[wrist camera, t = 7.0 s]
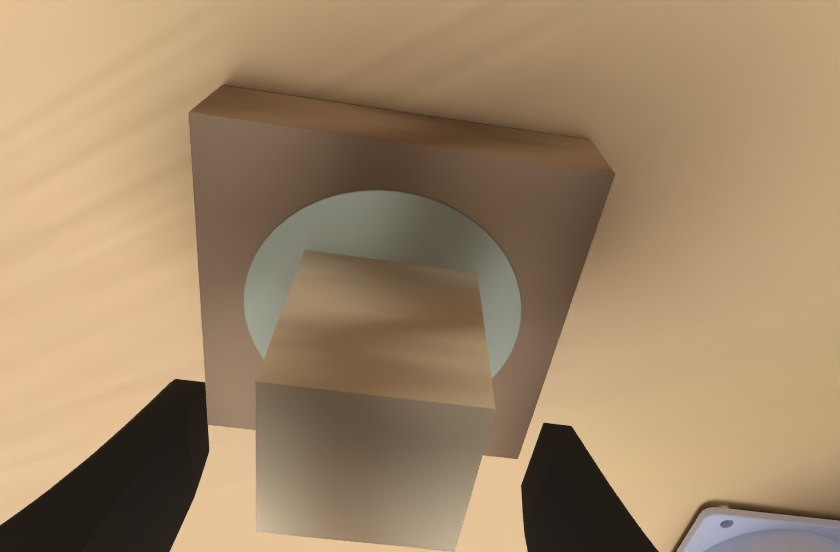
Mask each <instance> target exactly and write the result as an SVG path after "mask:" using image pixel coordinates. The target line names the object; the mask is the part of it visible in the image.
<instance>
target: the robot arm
mask: <svg viewBox="0 0 840 552" xmlns="http://www.w3.org/2000/svg"><path fill="white" fill-rule="evenodd" d="M208 453H209V437H208V421H207V404H206V388H205V382H197V381H189V380H180V379H175V380H173V381H172V382H170V383H169V384H168V385H167V386H166V387H165V388H164V389H163V390H162V391H161V392H160V393H159V394H158V395H157V396H156V397H155V398H154V399H153V400H152V401H151V402H150V403H149V404H148V405H146V406H145V407H144V408H143V409H142V410H141V411H140V412H139V413H138V414H137V415H136V416H135V417H134V418H133V419H132V420H130V421H129V422H128V423H127V424H126V425H125V426H124V427H123V428H122V429H121V430H120V431H118V432H117V433H116V434H115V435H114V436H113V437H112V438H110V439H109V440H108V441H107V442H106V443H105V444H104V445H103V446H101V447H100V448H99V449H98V450H97V451H96V452H95V453H93V454H92V455H91V456H90V457H89V458H88V459H86V460H85V461H84V462H83V463H81V464H80V465H79V466H78V467H77V468H75V469H74V470H73V471H72V472H70V473H69V474H68V475H67V476H65V477H64V478H63V479H62V480H60V481H59V482H58V483H57V484H56V485H54V486H53V487H52V488H51V489H49V490H48V491H47V492H45V493H44V494H43V495H41V496H40V497H39V498H37V499H36V500H35V501H33V502H32V503H31V504H29V505H28V506H27V507H25V508H24V509H23V510H21V511H20V512H18V513H17V514H16V515H14V516H13V517H11V518H10V519H9V520H7V521H6V522H4V523H3V524H1V525H0V552H170V549H171V547H172V545H173V543H174V541H175V539H176V536H177V534H178V532H179V530H180V528H181V525H182V523H183V521H184V519H185V517H186V514H187V512H188V510H189V508H190V506H191V503H192V501H193V499H194V496H195V493H196V490H197V487H198V484H199V482H200V479H201V476H202V472H203V469H204V466H205V463H206V460H207V456H208ZM521 491H522V508H523V521H524V533H525V539H526V545H527V550H528V552H658V550H657V549H656V548H655V547H654V545H653V544H652V543H651V541H650V540H649V539H648V538H647V536H646V535H645V534H644V532H643V531H642V530H641V528H640V527H639V526H638V524H637V523H636V521H635V520H634V519H633V517H632V516H631V514H630V513H629V512H628V510H627V509H626V507H625V506H624V505H623V503H622V502H621V500H620V499H619V497H618V496H617V495H616V493H615V492H614V490H613V489H612V487H611V486H610V484H609V483H608V481H607V480H606V478H605V477H604V475H603V474H602V472H601V471H600V469H599V468H598V466H597V465H596V463H595V462H594V460H593V458H592V457H591V455H590V454H589V452H588V451H587V449H586V448H585V446H584V445H583V443H582V441H581V440H580V438H579V437H578V435H577V434H576V432H575V431H574V429H573V428H572V426H567V425H558V424H550V423H543V426H542V429H541V431H540V434H539V437H538V440H537V443H536V445H535V448H534V451H533V454H532V457H531V460H530V462H529V465H528V468H527V471H526V474H525V476H524V479H523V482H522V485H521ZM676 552H840V521H839V520H829V519H820V518H811V517H802V516H792V515H783V514H774V513H765V512H755V511H746V510H737V509H727V508H718V507H710V508H706V509H705V510H703V511H702V512H701V513H700V514H699V516H698V518H697V519H696V521H695V522H694V524H693V526H692V527H691V529H690V530H689V532H688V534H687V535H686V537H685V538H684V540H683V542H682V543H681V545H680V546H679V548H678V550H677V551H676Z"/></svg>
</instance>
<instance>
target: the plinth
mask: <svg viewBox="0 0 840 552" xmlns="http://www.w3.org/2000/svg"><path fill="white" fill-rule="evenodd" d="M189 122H190V139H191V155H192V171H193V187H194V203H195V219H196V235H197V252H198V268H199V284H200V300H201V316H202V332H203V349H204V365H205V381H206V397H207V413H208V425H216V426H225V427H234V428H243V429H252V430H256V386H255V381H256V379H257V376H258V373H259V371H260V368H261V365H262V363H263V360H264V357H265V355H266V352H267V349H268V347H269V344H270V341H271V338H272V336H273V333H274V330H275V328H276V325H277V322H278V320H279V317H280V314H281V312H282V309H283V306H284V304H285V301H286V298H287V296H288V293H289V290H290V287H291V285H292V282H293V279H294V277H295V274H296V271H297V269H298V266H299V263H300V261H301V258H302V255H303V253H304V250H310V251H318V252H326V253H333V254H341V255H349V256H356V257H364V258H372V259H380V260H387V261H395V262H403V263H411V264H418V265H426V266H434V267H441V268H449V269H457V270H465V271H472V272H477V276H478V283H479V290H480V298H481V305H482V312H483V320H484V327H485V334H486V342H487V349H488V356H489V364H490V371H491V378H492V385H493V393H494V400H495V407H496V410H495V413H494V417H493V420H492V424H491V427H490V431H489V434H488V438H487V441H486V444H485V448H484V451H483V455H486V456H495V457H504V458H513V459H518V457H519V454H520V451H521V448H522V445H523V442H524V439H525V436H526V433H527V430H528V427H529V424H530V422H531V419H532V416H533V413H534V410H535V407H536V404H537V401H538V398H539V395H540V392H541V389H542V386H543V383H544V380H545V378H546V375H547V372H548V369H549V366H550V363H551V360H552V357H553V354H554V351H555V348H556V345H557V342H558V339H559V337H560V334H561V331H562V328H563V325H564V322H565V319H566V316H567V313H568V310H569V307H570V304H571V301H572V298H573V295H574V293H575V290H576V287H577V284H578V281H579V278H580V275H581V272H582V269H583V266H584V263H585V260H586V257H587V254H588V251H589V249H590V246H591V243H592V240H593V237H594V234H595V231H596V228H597V225H598V222H599V219H600V216H601V213H602V210H603V208H604V205H605V202H606V199H607V196H608V193H609V190H610V187H611V184H612V181H613V178H614V175H615V174H614V172H613V171H612V170H611V168H610V167H609V165H608V164H607V163H606V161H605V160H604V158H603V157H602V156H601V154H600V153H599V152H598V150H597V149H596V147H595V146H594V145H593V143H592V142H591V141H590V140H587V139H580V138H573V137H567V136H560V135H553V134H546V133H540V132H533V131H526V130H520V129H513V128H506V127H499V126H493V125H486V124H479V123H473V122H466V121H459V120H452V119H446V118H439V117H432V116H426V115H419V114H412V113H406V112H399V111H392V110H385V109H379V108H372V107H365V106H359V105H352V104H345V103H338V102H332V101H325V100H318V99H312V98H305V97H298V96H292V95H285V94H278V93H271V92H265V91H258V90H251V89H245V88H238V87H231V86H224V85H222V86H220V87H219V88H218V89H217V90H215V91H214V92H213V93H212V94H210V95H209V96H208V97H207V98H206V99H204V100H203V101H202V102H201V103H199V104H198V105H197V106H196V107H195V108H193V109H192V110H191V111H190V112H189Z"/></svg>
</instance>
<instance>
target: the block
mask: <svg viewBox="0 0 840 552" xmlns="http://www.w3.org/2000/svg"><path fill="white" fill-rule="evenodd" d="M255 386H256V532H262V533H272V534H282V535H292V536H302V537H313V538H323V539H333V540H343V541H353V542H363V543H374V544H384V545H394V546H404V547H414V548H424V549H435V550H445V551H455V548H456V545H457V541H458V538H459V535H460V531H461V528H462V524H463V521H464V517H465V514H466V510H467V507H468V503H469V500H470V496H471V493H472V490H473V486H474V483H475V479H476V476H477V472H478V469H479V465H480V462H481V458H482V455H483V451H484V448H485V444H486V441H487V438H488V434H489V431H490V427H491V424H492V420H493V417H494V413H495V410H496V407H495V400H494V393H493V385H492V378H491V371H490V364H489V356H488V349H487V342H486V334H485V327H484V320H483V312H482V305H481V298H480V290H479V283H478V276H477V272H472V271H465V270H457V269H449V268H441V267H434V266H426V265H418V264H411V263H403V262H395V261H387V260H380V259H372V258H364V257H356V256H349V255H341V254H333V253H326V252H318V251H310V250H304V253H303V255H302V258H301V261H300V263H299V266H298V269H297V271H296V274H295V277H294V279H293V282H292V285H291V287H290V290H289V293H288V296H287V298H286V301H285V304H284V306H283V309H282V312H281V314H280V317H279V320H278V322H277V325H276V328H275V330H274V333H273V336H272V338H271V341H270V344H269V347H268V349H267V352H266V355H265V357H264V360H263V363H262V365H261V368H260V371H259V373H258V376H257V379H256V381H255Z"/></svg>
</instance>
